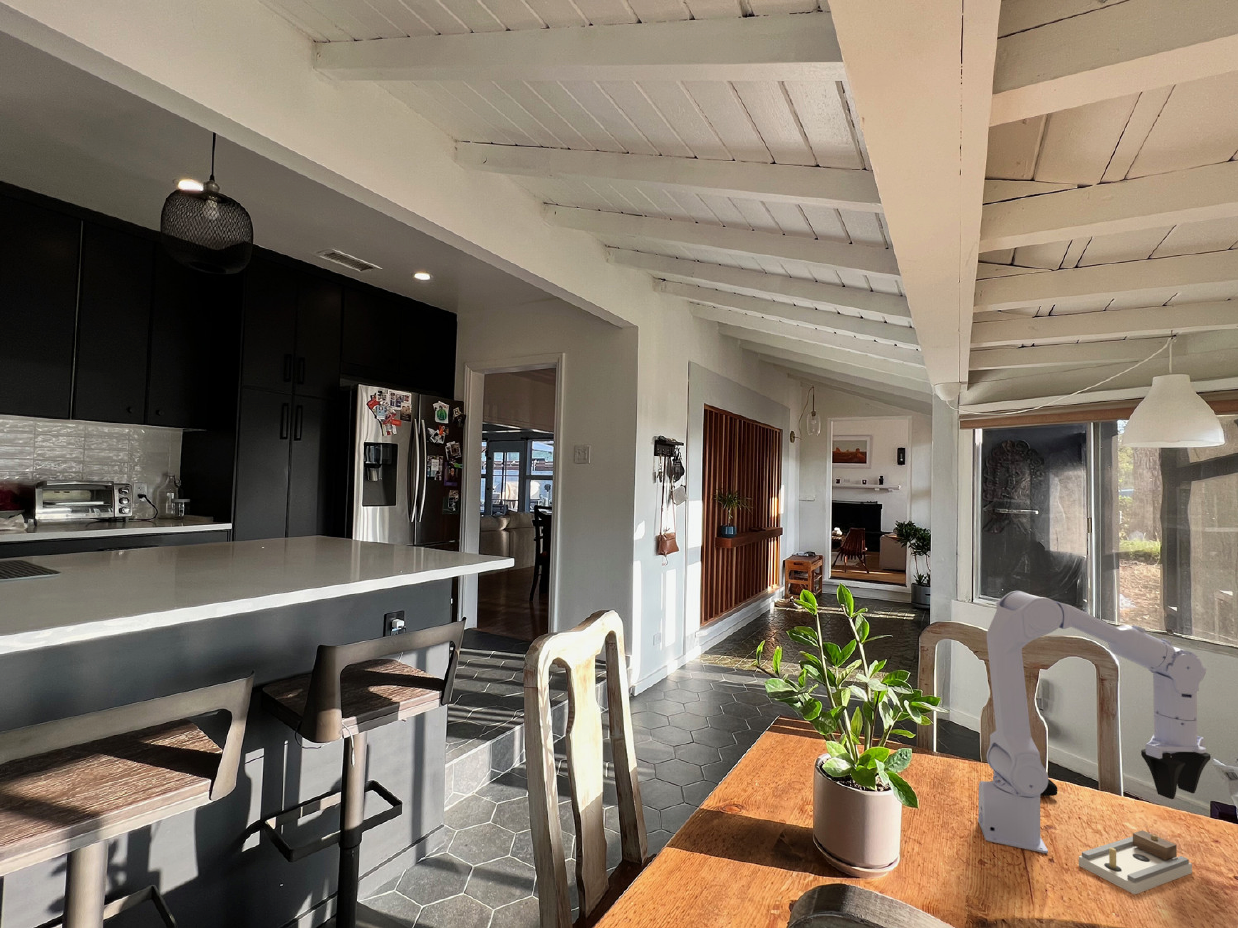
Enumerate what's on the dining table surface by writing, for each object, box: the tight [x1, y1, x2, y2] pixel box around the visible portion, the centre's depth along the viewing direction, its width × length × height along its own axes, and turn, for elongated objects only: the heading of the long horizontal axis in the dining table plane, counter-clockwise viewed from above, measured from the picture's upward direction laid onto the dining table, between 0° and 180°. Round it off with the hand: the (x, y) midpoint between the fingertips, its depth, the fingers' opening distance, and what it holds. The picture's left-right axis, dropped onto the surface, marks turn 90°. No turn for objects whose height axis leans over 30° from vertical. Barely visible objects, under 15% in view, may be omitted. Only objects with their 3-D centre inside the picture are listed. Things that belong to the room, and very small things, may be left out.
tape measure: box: [1040, 778, 1058, 797], centre depth 129 cm, size 7×7×4 cm
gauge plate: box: [1078, 835, 1193, 895], centre depth 102 cm, size 16×8×4 cm, turn 113°
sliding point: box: [1132, 830, 1178, 860], centre depth 104 cm, size 3×5×2 cm, turn 23°
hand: (1176, 793), depth 107 cm, fingers open, 6 cm apart
